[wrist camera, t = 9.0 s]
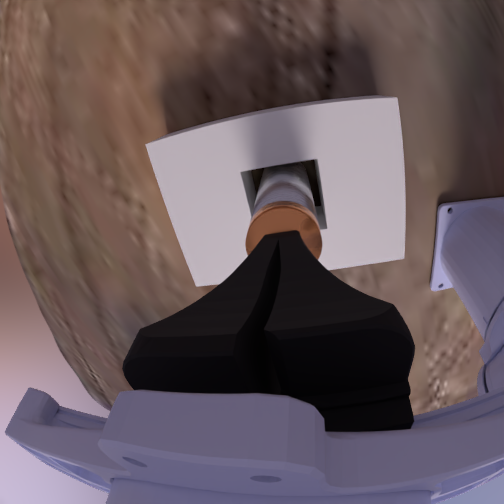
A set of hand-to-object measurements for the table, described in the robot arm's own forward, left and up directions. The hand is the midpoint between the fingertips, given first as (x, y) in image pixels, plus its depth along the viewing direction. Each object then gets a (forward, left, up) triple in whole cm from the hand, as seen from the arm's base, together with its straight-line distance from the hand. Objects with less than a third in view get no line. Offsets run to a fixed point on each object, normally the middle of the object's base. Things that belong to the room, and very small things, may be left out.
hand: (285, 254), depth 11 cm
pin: (0, 0, -9) cm, 9 cm away
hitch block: (0, 0, -9) cm, 9 cm away
